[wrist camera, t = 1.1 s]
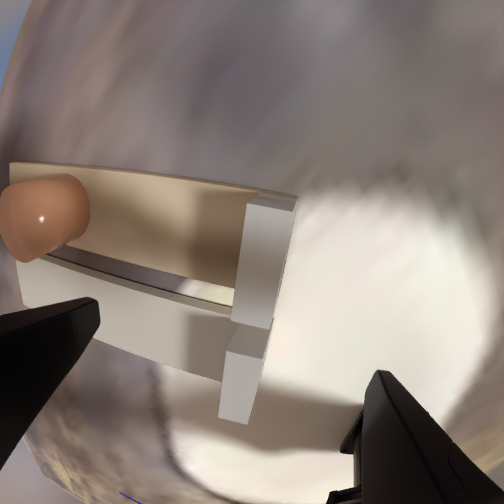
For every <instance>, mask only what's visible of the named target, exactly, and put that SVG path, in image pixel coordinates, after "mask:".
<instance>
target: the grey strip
mask: <svg viewBox="0 0 504 504" xmlns="http://www.w3.org/2000/svg"><path fill="white" fill-rule="evenodd" d="M16 265H17V271H18V277H19V283H20V288H21V293H22V298H23V303H24V305H26V306H27V307H29V308H31V309H32V308H37V307H41V306H46V305H50V304H55V303H60V302H64V301H69V300H73V299H78V298H82V297H91V298H93V299H96V300H97V301H98V303H99V310H100V319H101V322H100V326H99V328H98V330H97V331H96V333H95V334H94V336H93V338H95V339H98V340H100V341H103V342H105V343H107V344H110V345H112V346H115V347H118V348H120V349H123V350H125V351H128V352H131V353H133V354H136V355H139V356H142V357H144V358H147V359H150V360H153V361H156V362H159V363H162V364H165V365H168V366H171V367H174V368H177V369H180V370H183V371H186V372H190V373H193V374H196V375H200V376H203V377H207V378H210V379H214V380H217V381H221V382H222V389H221V396H220V404H219V412H218V418H222V419H225V420H229V421H233V422H237V423H241V424H245V425H247V424H248V421H249V418H250V414H251V411H252V407H253V403H254V400H255V396H256V393H257V389H258V386H259V382H260V378H261V373H262V369H263V365H264V360H265V356H266V352H267V347H268V343H269V338H270V334H271V329H272V325H273V320H274V317H273V318H272V322H271V325H270V329H269V330H268V329H264V328H259V327H255V326H251V325H246V324H242V323H238V322H234V321H231V313H232V308H230V307H226V306H222V305H218V304H214V303H210V302H206V301H202V300H198V299H194V298H190V297H186V296H183V295H179V294H175V293H171V292H168V291H164V290H160V289H157V288H153V287H149V286H146V285H142V284H139V283H135V282H132V281H129V280H125V279H122V278H118V277H115V276H112V275H108V274H105V273H102V272H99V271H95V270H92V269H89V268H86V267H83V266H79V265H76V264H73V263H70V262H67V261H64V260H61V259H58V258H55V257H52V256H49V255H46V254H44V255H42V256H41V257H39V258H37V259H35V260H33V261H31V262H28V263H23V262H20V261H18V260H17V259H16Z"/></svg>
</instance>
